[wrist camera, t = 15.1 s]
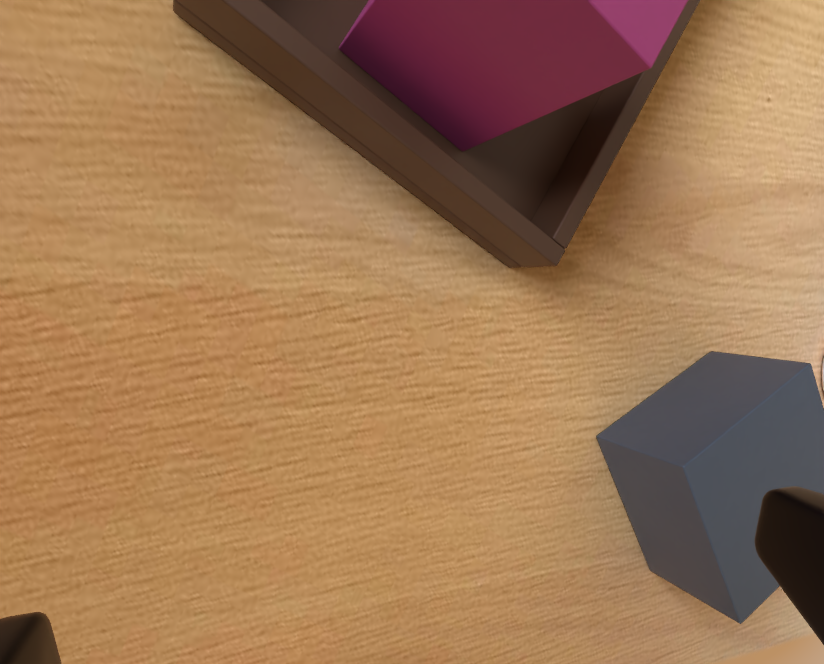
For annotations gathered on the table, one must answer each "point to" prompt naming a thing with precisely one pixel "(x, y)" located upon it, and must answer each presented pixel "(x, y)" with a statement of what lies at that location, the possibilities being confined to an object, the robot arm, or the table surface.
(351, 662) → the table surface
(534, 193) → the tray
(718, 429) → the slate block
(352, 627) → the table surface
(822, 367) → the pill bottle
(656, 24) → the mulberry block
